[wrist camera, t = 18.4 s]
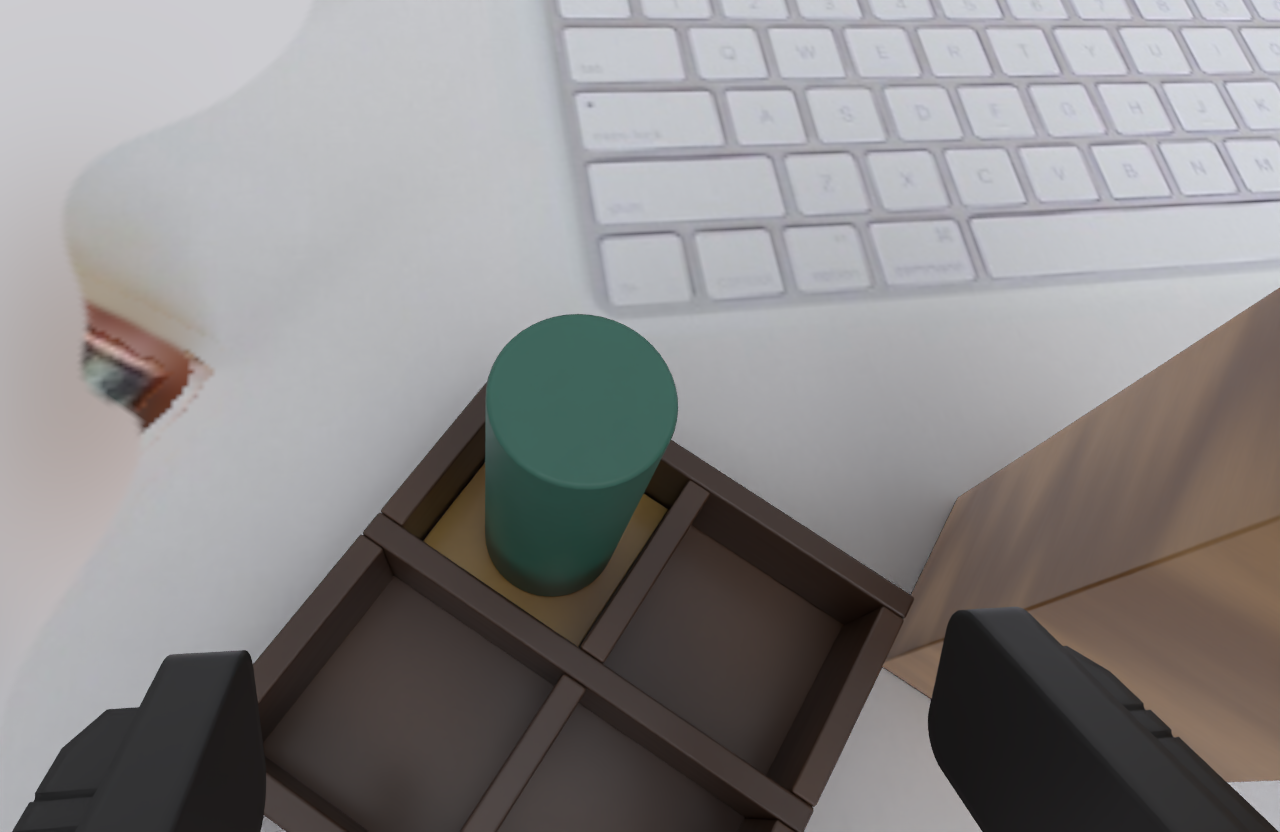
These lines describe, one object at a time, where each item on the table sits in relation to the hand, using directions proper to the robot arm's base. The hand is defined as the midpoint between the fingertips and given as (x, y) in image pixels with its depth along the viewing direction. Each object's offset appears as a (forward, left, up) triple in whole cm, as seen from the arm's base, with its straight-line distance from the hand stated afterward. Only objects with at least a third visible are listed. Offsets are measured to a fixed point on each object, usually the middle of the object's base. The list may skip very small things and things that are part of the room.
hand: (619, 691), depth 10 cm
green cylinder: (+4, +3, -11) cm, 12 cm away
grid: (+1, 0, -11) cm, 12 cm away
